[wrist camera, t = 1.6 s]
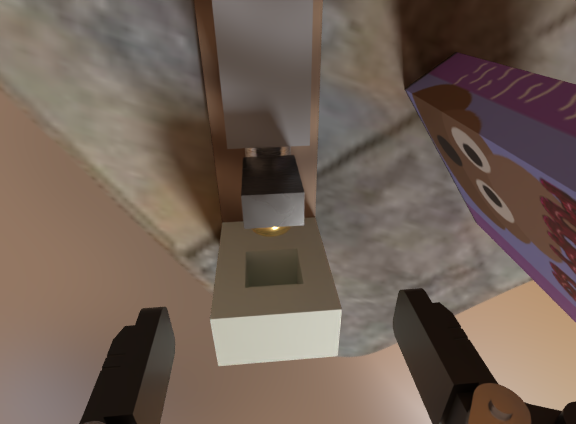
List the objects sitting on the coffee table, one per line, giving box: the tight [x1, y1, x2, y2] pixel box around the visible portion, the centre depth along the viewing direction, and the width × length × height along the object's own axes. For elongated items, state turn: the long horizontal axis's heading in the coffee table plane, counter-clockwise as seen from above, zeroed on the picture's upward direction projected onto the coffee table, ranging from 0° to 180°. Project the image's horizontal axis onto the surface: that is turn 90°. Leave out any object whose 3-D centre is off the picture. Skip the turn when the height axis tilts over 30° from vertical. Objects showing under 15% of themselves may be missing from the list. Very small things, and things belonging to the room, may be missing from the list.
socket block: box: [210, 217, 342, 366], centre depth 31 cm, size 5×9×12 cm, turn 91°
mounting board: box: [194, 0, 323, 223], centre depth 27 cm, size 27×9×10 cm, turn 1°
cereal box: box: [405, 52, 576, 322], centre depth 23 cm, size 17×5×24 cm, turn 36°
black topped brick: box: [241, 146, 305, 237], centre depth 20 cm, size 16×3×8 cm, turn 1°
